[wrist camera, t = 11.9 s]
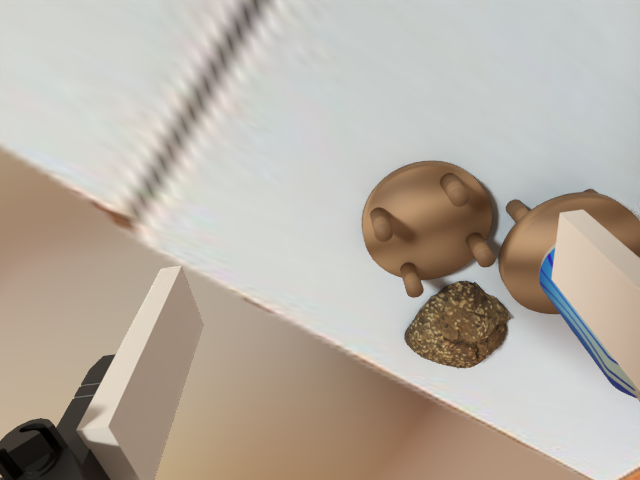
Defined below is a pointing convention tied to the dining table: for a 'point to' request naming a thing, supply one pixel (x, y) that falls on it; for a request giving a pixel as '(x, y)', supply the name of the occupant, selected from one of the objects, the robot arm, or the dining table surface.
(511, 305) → the dining table surface
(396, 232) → the upturned footstool
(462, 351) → the bread roll
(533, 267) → the footstool
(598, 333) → the robot arm
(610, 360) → the beer can
